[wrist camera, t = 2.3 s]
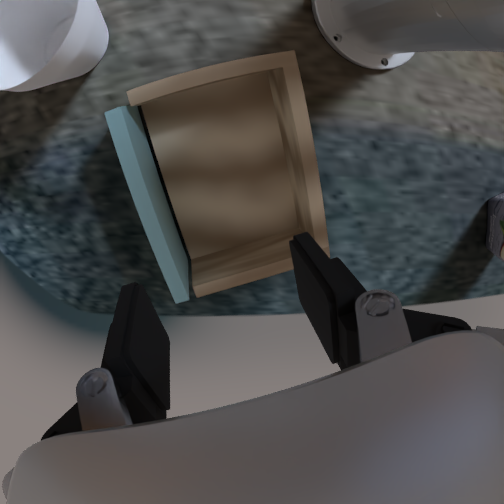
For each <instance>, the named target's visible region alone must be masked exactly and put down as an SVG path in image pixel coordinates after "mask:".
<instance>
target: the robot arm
mask: <svg viewBox="0 0 504 504" xmlns="http://www.w3.org/2000/svg"><path fill="white" fill-rule="evenodd" d="M311 1H312V11H313V15H314V19H315V21H316V24H317V26H318V28H319V30H320V32H321V33H322V35H323V36H324V38H325V39H326V41H327V42H328V43H329V44H330V45H331V46H332V48H333V49H334V50H335V51H337V52H338V53H339V54H340V55H341V56H343V57H344V58H346V59H347V60H349V61H351V62H352V63H354V64H357V65H359V66H362V67H364V68H370V69H393V68H395V67H398V66H401V65H403V64H404V63H406V62H407V61H408V60H409V59H410V58H411V57H412V56H413V55H414V53H415V52H427V51H493V52H504V0H311ZM334 37H335V38H336V41H335V40H334ZM381 62H382V63H381ZM289 246H290V251H291V256H292V262H293V267H294V272H295V278H296V284H297V289H298V295H299V299H300V302H301V305H302V307H303V309H304V311H305V312H306V314H307V316H308V318H309V320H310V322H311V324H312V326H313V327H314V330H315V332H316V334H317V335H318V337H319V339H320V341H321V343H322V345H323V347H324V349H325V351H326V353H327V355H328V357H329V359H330V361H331V362H332V363H333V364H334V363H338V365H339V367H340V369H341V371H338V372H335V373H333V374H330V375H327V376H324V377H321V378H318V379H316V380H313V381H310V382H307V383H304V384H301V385H297V386H294V387H291V388H288V389H285V390H281V391H278V392H275V393H272V394H268V395H265V396H261V397H258V398H254V399H250V400H247V401H243V402H239V403H236V404H231V405H227V406H223V407H219V408H216V409H211V410H207V411H202V412H198V413H193V414H188V415H183V416H178V417H173V418H168V419H166V410H169V409H170V341H169V337H168V335H167V332H166V331H165V329H164V327H163V325H162V323H161V321H160V319H159V317H158V315H157V313H156V311H155V309H154V307H153V305H152V303H151V301H150V299H149V297H148V295H147V293H146V291H145V289H144V287H143V285H142V284H140V285H138V284H137V283H136V282H134V283H131V284H127V285H124V286H122V288H121V291H120V295H119V299H118V303H117V306H116V310H115V314H114V318H113V322H112V323H111V325H110V329H109V333H108V337H107V342H106V346H105V350H104V355H103V359H102V364H101V368H95V369H93V370H90V371H89V372H87V373H85V375H83V376H82V377H81V379H80V380H79V382H78V384H77V387H76V395H77V403H76V404H75V405H74V406H73V407H72V408H71V409H70V410H68V411H67V412H66V413H65V414H64V415H63V416H62V417H61V418H60V419H59V420H58V421H57V422H56V423H55V424H54V425H53V426H52V427H50V428H49V429H48V430H47V431H46V433H45V434H44V435H43V437H42V439H41V441H40V442H37V443H35V444H33V445H32V446H30V447H29V448H27V449H26V450H25V451H23V453H22V454H21V455H20V456H19V458H18V460H17V462H16V465H15V467H14V468H13V469H12V470H11V471H9V472H8V473H7V474H6V476H5V477H4V480H3V484H2V488H3V492H4V495H5V497H6V499H7V502H6V504H504V329H498V328H489V327H480V326H477V327H476V330H474V329H471V327H470V326H469V325H468V324H467V323H466V322H465V321H463V320H461V319H458V318H454V317H448V316H442V315H436V314H430V313H425V312H419V311H413V310H407V309H402V306H401V303H400V300H399V299H398V297H397V296H396V295H395V294H394V293H392V292H389V291H387V290H381V289H380V290H371V291H366V290H365V288H364V287H363V286H362V285H361V284H360V282H359V281H358V280H357V279H356V278H355V276H354V275H353V274H352V273H351V272H350V270H349V269H348V268H347V267H346V266H345V265H344V263H343V262H342V261H341V260H340V259H339V258H337V257H336V258H333V259H330V258H329V257H328V256H327V254H326V253H325V252H324V251H323V250H322V248H321V247H320V246H319V245H318V243H317V242H316V241H315V240H314V239H313V237H312V236H311V235H310V234H309V233H308V232H304V233H301V234H297V235H294V236H293V240H290V241H289ZM343 369H344V370H343Z"/></svg>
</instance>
